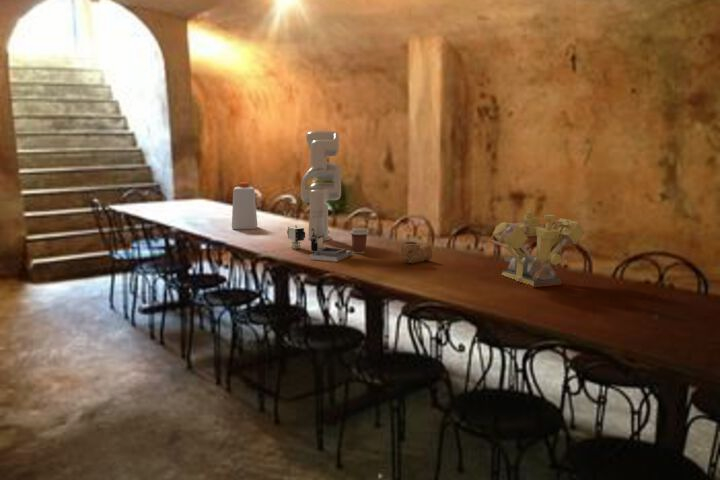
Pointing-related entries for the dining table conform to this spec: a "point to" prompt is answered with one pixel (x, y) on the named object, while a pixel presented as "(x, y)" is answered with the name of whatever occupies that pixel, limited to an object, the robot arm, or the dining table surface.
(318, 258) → the motor base
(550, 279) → the mechanical engine
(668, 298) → the dining table surface
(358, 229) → the coffee cup
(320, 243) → the pump
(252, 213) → the plastic bottle
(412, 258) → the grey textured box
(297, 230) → the pneumatic valve
